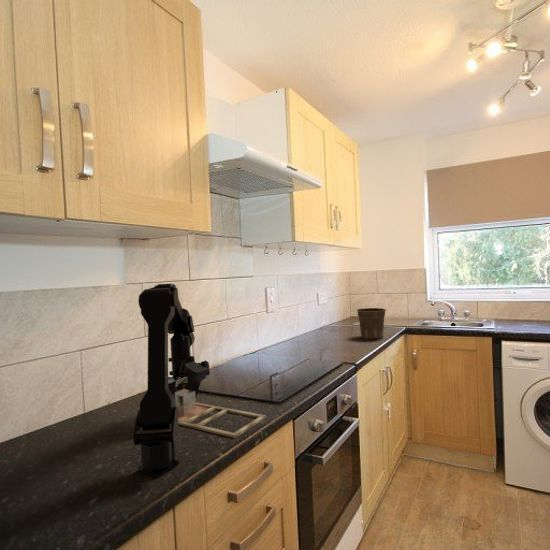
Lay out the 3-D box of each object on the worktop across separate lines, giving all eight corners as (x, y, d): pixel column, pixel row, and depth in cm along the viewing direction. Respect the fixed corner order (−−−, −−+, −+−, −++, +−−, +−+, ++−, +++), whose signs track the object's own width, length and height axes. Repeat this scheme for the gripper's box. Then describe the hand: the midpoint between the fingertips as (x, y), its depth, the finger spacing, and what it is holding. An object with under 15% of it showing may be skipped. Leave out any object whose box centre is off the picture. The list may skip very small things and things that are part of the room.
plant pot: (390, 335, 220) (388, 307, 219) (383, 340, 206) (381, 311, 205) (362, 334, 228) (361, 307, 228) (354, 339, 214) (352, 311, 214)
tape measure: (184, 387, 142) (184, 377, 142) (202, 387, 141) (201, 377, 141) (176, 393, 135) (176, 383, 135) (195, 393, 134) (194, 382, 134)
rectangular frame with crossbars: (234, 438, 96) (234, 435, 96) (149, 417, 113) (149, 415, 113) (266, 417, 108) (266, 415, 108) (184, 401, 125) (184, 399, 125)
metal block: (184, 416, 112) (182, 396, 112) (172, 413, 115) (171, 393, 114) (196, 410, 116) (195, 391, 116) (184, 408, 119) (183, 389, 119)
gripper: (176, 363, 103) (179, 420, 103) (221, 349, 119) (224, 398, 119) (149, 360, 109) (152, 414, 109) (195, 347, 125) (198, 394, 125)
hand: (183, 404), depth 115 cm, fingers open, 8 cm apart
